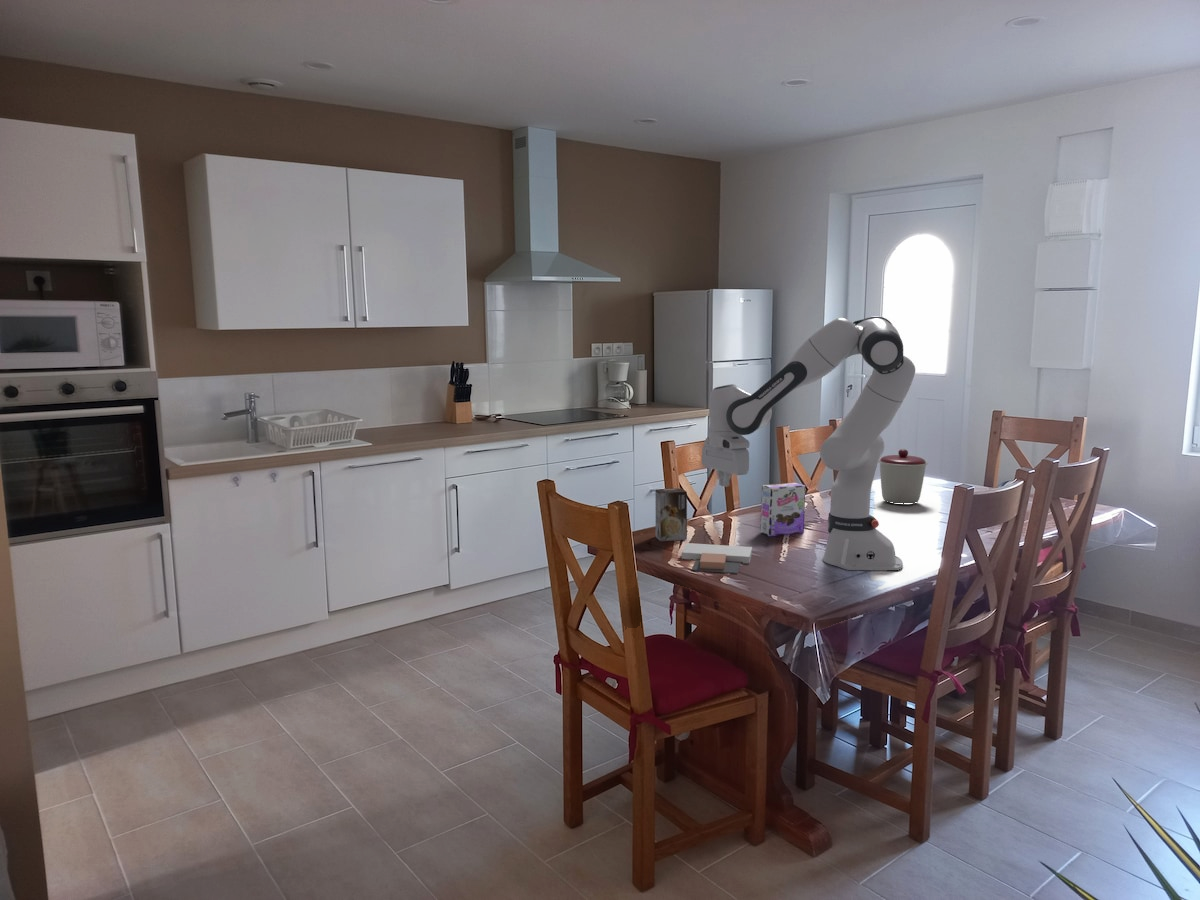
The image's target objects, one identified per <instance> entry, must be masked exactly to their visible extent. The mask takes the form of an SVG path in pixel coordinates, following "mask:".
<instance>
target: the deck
mask: <svg viewBox="0 0 1200 900" xmlns="http://www.w3.org/2000/svg"><path fill="white" fill-rule="evenodd" d="M702 553H713V554H726V561H733V562H743V563H742V564H750V563H751V558H752V555H753V547H752V546H739V545H725V544H724V545H723V544H710V543H709V544H707V543H706V544H705V543H692V542H691V543H689V542H686V544H685V545H684V548H683V550H682V551H681V560H691V559H693V560H695V561H696V559H701V556H702ZM693 560H692V561H693Z"/></svg>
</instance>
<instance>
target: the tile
mask: <svg viewBox="0 0 1200 900" xmlns="http://www.w3.org/2000/svg"><path fill="white" fill-rule="evenodd" d="M725 564H726V554H713V553H702V556H701V560H700V568H706V569H725Z"/></svg>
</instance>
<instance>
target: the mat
mask: <svg viewBox="0 0 1200 900" xmlns="http://www.w3.org/2000/svg"><path fill="white" fill-rule="evenodd" d="M700 560H701V559H696V560H695V561H694V563H693V566H692V567H691V569H690V570H695V571H694V572H700V571H706V572H705V573H714V572H721V573H720V574H728V573H734V574H733V575H738V574H737V573H739V569H740V566H741V564H742V563H741V562H733V561H726V564H725V569H706V568H700ZM740 563H741V564H740Z"/></svg>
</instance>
